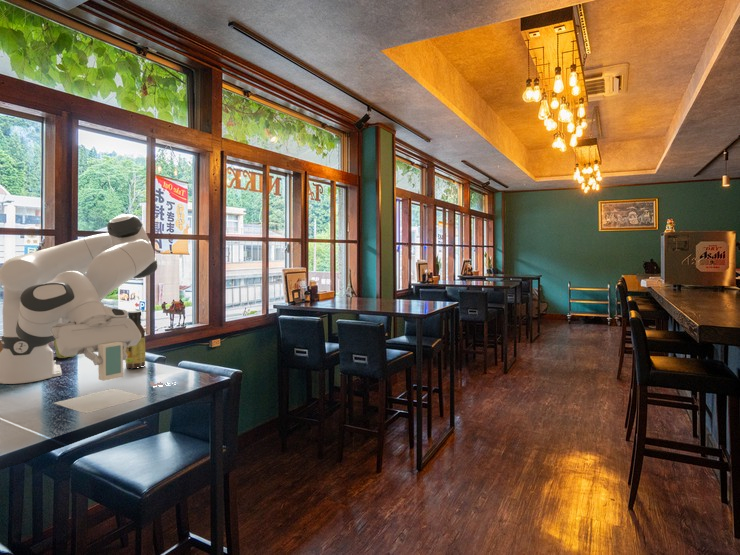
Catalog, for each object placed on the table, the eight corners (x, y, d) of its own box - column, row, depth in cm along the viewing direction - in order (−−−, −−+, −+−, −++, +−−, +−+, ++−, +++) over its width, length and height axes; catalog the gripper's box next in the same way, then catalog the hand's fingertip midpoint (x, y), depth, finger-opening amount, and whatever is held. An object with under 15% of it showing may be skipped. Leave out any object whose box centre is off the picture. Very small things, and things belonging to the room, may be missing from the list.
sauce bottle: (123, 367, 163) (122, 311, 162) (143, 364, 167) (141, 309, 166) (128, 370, 158) (126, 312, 157) (147, 367, 162) (146, 311, 161)
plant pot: (85, 353, 186) (84, 332, 185) (72, 359, 176) (71, 336, 176) (61, 354, 185) (60, 332, 185) (46, 359, 176) (45, 336, 175)
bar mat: (53, 404, 121) (53, 402, 121) (113, 389, 135) (113, 388, 135) (85, 415, 113) (85, 413, 113) (146, 398, 127) (146, 396, 127)
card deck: (98, 379, 119) (98, 344, 119) (117, 375, 123) (117, 341, 123) (103, 380, 118) (103, 345, 117) (123, 376, 122) (122, 342, 121)
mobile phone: (170, 372, 153) (178, 383, 140) (170, 375, 153) (178, 386, 140) (145, 375, 149) (151, 386, 136) (145, 378, 149) (151, 390, 136)
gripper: (52, 317, 115) (73, 360, 110) (131, 309, 132) (152, 347, 127) (44, 333, 117) (64, 376, 112) (123, 324, 134) (143, 361, 130)
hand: (112, 361), depth 120 cm, fingers closed on card deck, 5 cm apart
